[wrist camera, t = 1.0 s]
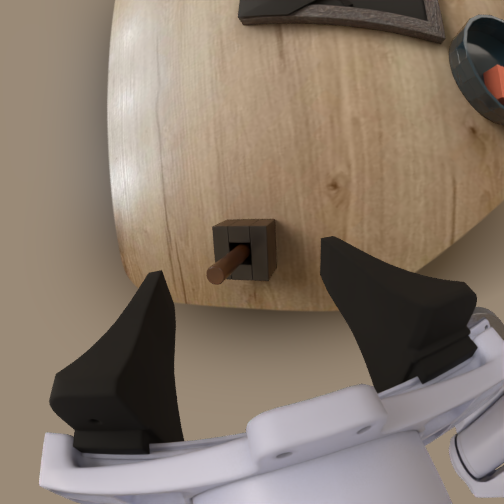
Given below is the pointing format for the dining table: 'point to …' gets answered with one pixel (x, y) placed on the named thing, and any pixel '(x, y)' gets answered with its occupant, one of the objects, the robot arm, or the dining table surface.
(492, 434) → the robot arm
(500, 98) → the block
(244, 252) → the brown cylindrical rod
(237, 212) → the dining table surface
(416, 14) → the picture frame
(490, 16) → the bowl
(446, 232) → the dining table surface
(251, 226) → the stand
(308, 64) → the dining table surface
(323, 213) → the dining table surface
